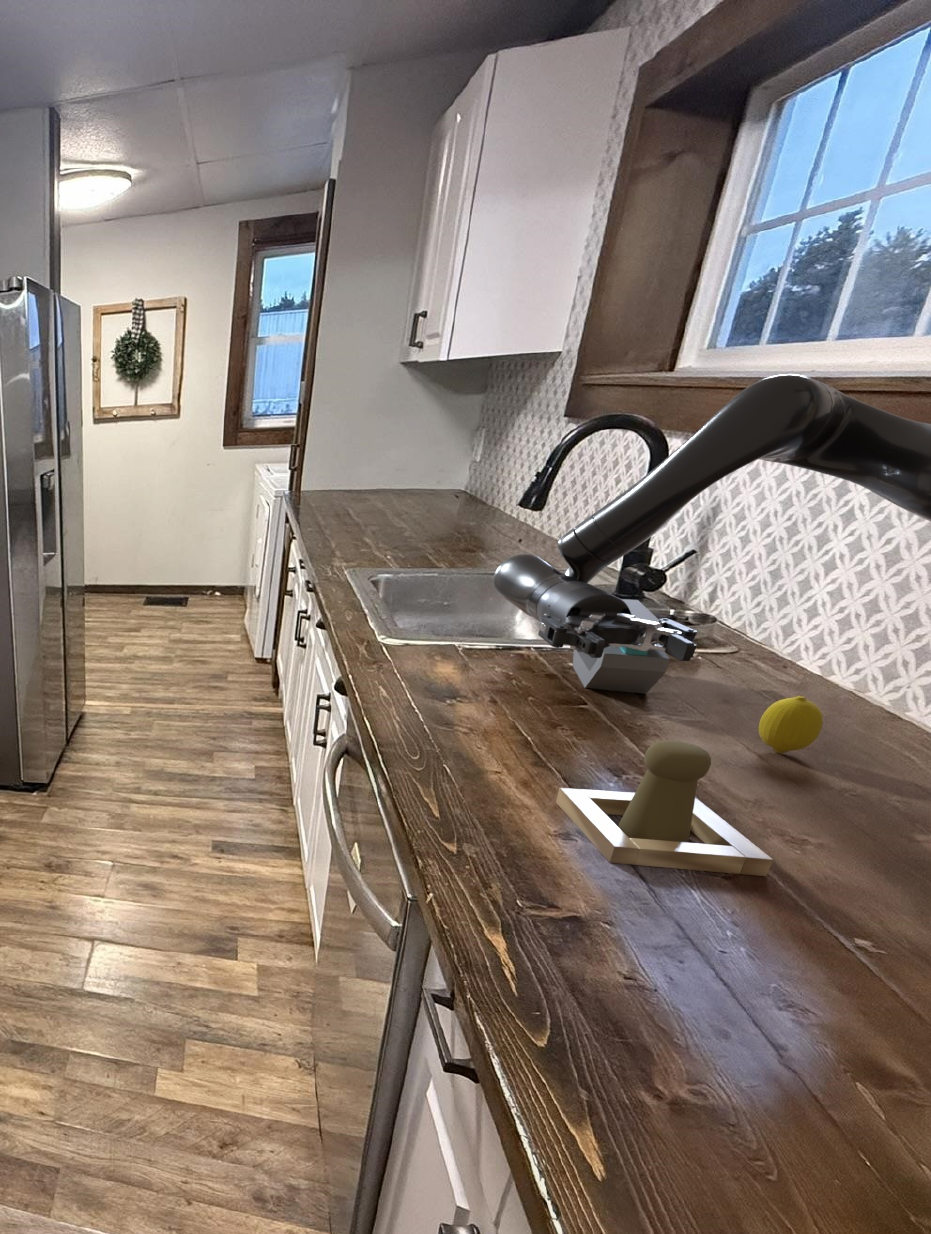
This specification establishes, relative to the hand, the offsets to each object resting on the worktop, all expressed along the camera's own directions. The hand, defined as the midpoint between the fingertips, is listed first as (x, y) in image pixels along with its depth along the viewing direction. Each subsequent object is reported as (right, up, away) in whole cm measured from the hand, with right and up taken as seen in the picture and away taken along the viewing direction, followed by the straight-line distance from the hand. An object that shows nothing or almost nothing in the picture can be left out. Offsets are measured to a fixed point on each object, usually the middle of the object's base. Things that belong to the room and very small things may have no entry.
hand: (644, 651), depth 88 cm
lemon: (+30, -12, +14) cm, 35 cm away
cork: (-2, -21, -3) cm, 21 cm away
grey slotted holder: (+29, -1, +41) cm, 50 cm away
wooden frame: (-2, -21, -3) cm, 21 cm away
